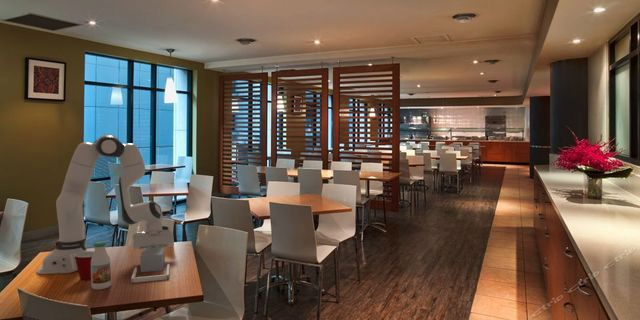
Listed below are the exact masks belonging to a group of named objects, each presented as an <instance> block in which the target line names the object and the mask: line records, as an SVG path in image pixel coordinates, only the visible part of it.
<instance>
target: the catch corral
mask: <svg viewBox="0 0 640 320" xmlns="http://www.w3.org/2000/svg"><path fill="white" fill-rule="evenodd" d="M137 274H138V267H137V266H135V267H134V268H133V272H132V275H131V278H130V279H131V280H130V282H131V284H133V283H143V282H153V281H162V280H169V279H170V263H168V264H166V274H158V275H148V276H146V275H145V276H137ZM136 276H137V277H136Z"/></svg>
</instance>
